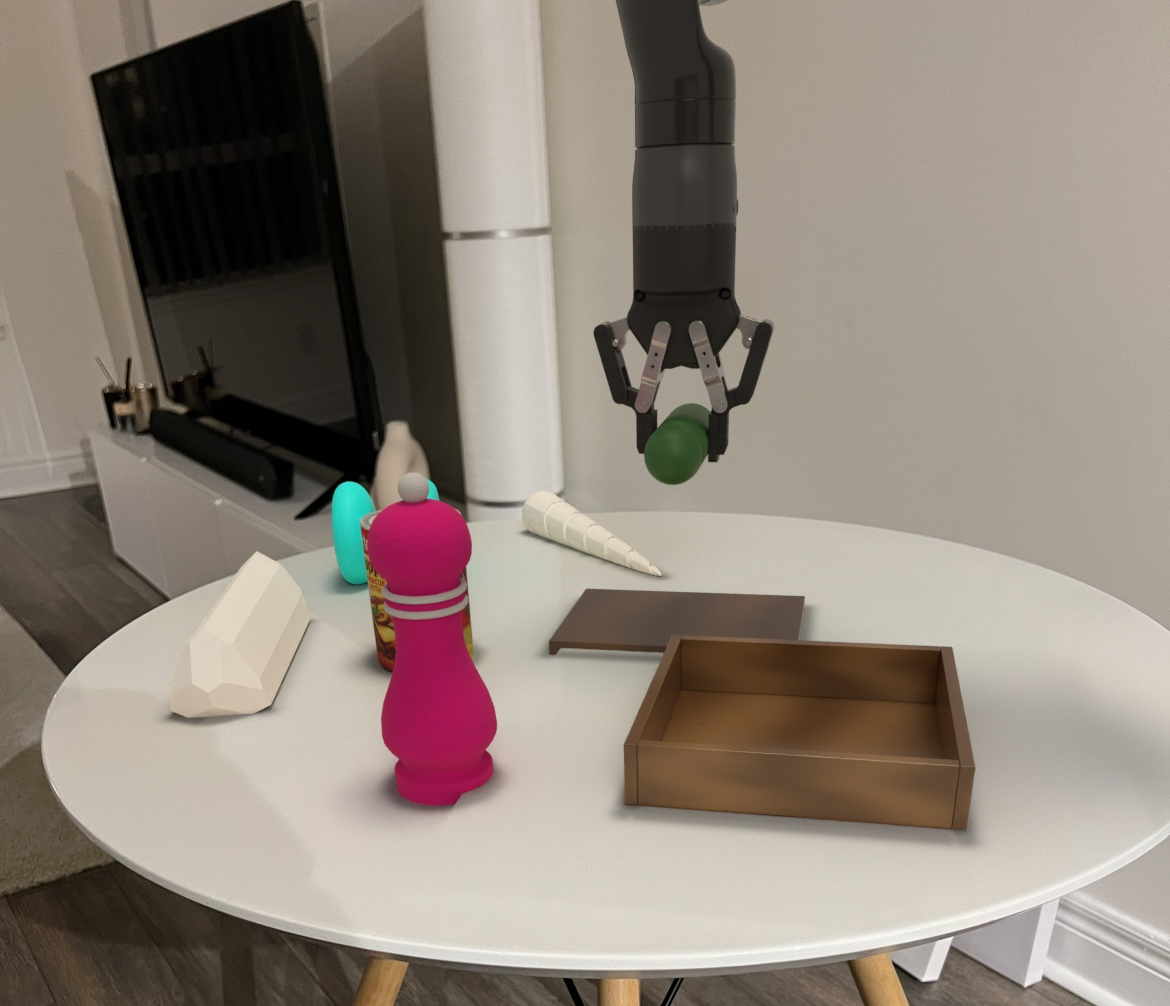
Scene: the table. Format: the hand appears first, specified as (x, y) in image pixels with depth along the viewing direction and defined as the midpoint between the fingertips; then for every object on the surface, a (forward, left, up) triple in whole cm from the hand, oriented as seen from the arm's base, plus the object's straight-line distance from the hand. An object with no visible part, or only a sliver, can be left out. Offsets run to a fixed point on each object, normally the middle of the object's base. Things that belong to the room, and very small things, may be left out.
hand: (682, 459), depth 87 cm
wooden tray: (-11, +23, -15) cm, 29 cm away
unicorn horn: (+13, -24, -15) cm, 31 cm away
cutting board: (0, 0, -15) cm, 15 cm away
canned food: (+20, +9, -15) cm, 27 cm away
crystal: (+34, +12, -15) cm, 39 cm away
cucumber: (0, 0, -1) cm, 1 cm away
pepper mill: (+11, +30, -15) cm, 35 cm away
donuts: (+31, -12, -15) cm, 37 cm away
